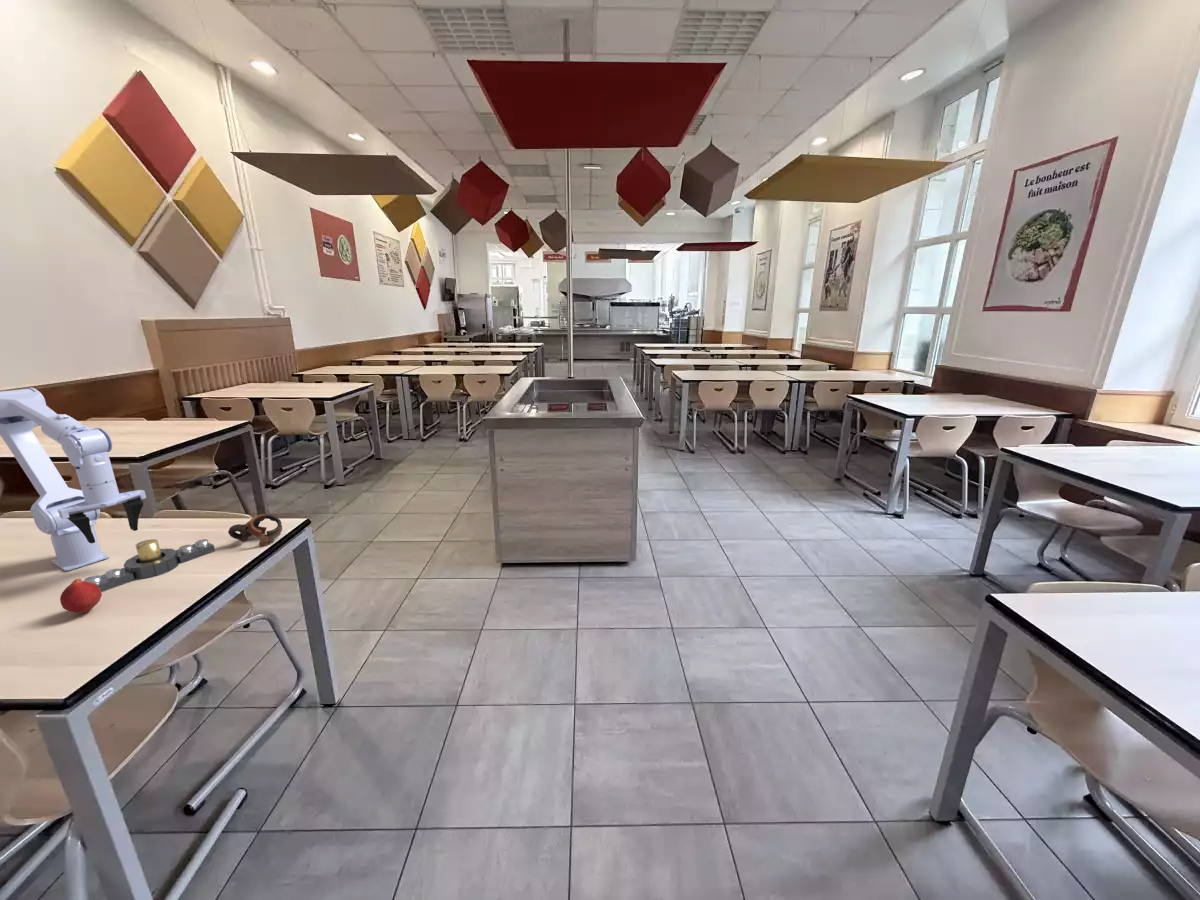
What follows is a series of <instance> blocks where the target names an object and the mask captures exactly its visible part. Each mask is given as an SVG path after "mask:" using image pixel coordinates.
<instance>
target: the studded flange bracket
mask: <svg viewBox="0 0 1200 900" xmlns="http://www.w3.org/2000/svg"><path fill="white" fill-rule="evenodd" d="M160 551H161V555H162V558H161V559H159V560H156V561H153V562H149V563H140V560H139V557H138V554H136V555H134V556H132V557H130V558H128V559H127V560H125V562H124V563H123V568H113V569H110V570H108V571H106V572H104V574H101V575H98V574H97V575H92V576H89V577H87V578H84V580H83V581H86V582H91V583H93V584H95V585H96V586H98V587H99V588H100V590H101V593H102V592H103V593H104V592H105V591H108V590H111V589H114V588H116V587H119V586H123V585H125V584H127V583H130V582H132V581H133V582H134V581H135V580H144V579H148V578H149V579H150V578H153V577H157V576H161V575H163V574H166V573H169V572H170V571H173V570H174V569H175V568H177V567H178V566H179V564H183V563H186V562H189V561H192V560H194V559H197V558H200V557H202V556H205V555H208V554H211V553H214V552H216V548H215V544H213V543H210V542H209V539H206V538H204V539H203V538H202V539H200V540H197V541H195V543H193V544H184V545H181V546H179V548H178V549H173V548H160Z"/></svg>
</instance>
